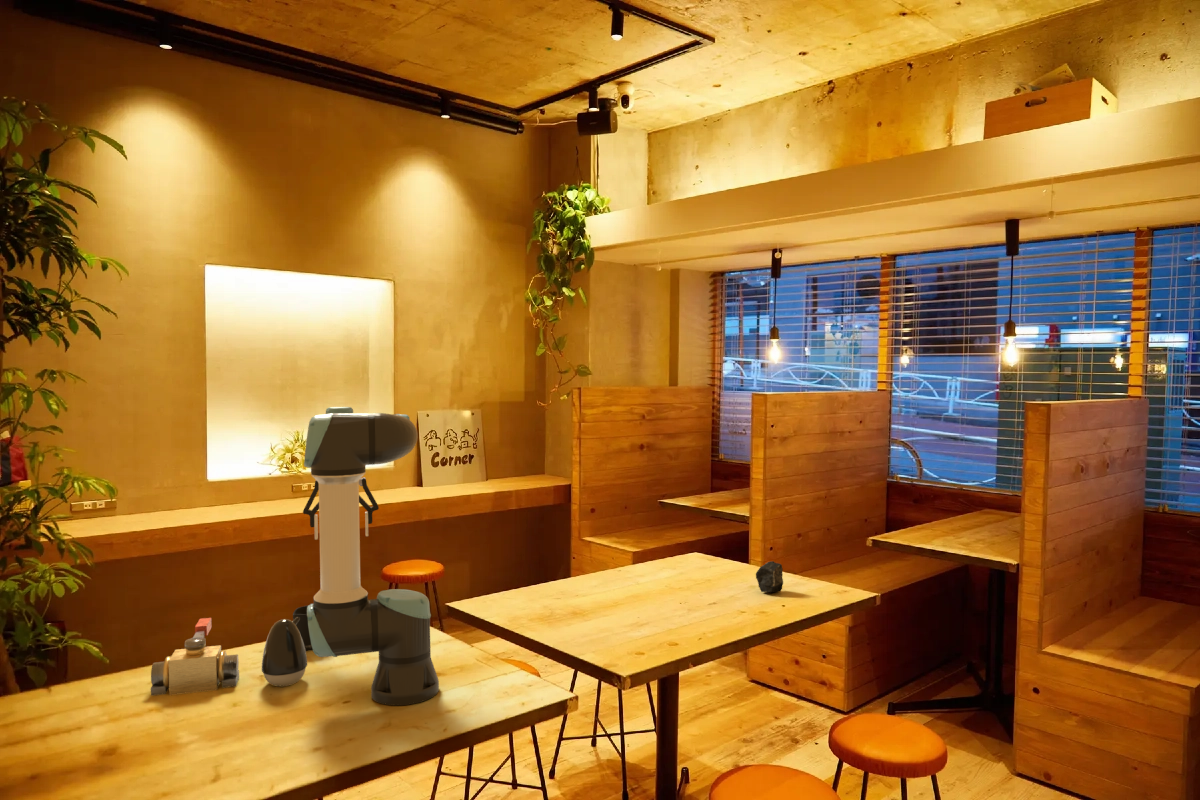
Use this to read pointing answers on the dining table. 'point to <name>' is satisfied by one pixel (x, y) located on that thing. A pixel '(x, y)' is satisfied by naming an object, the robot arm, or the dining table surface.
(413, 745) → the dining table surface
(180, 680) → the valve
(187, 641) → the lever
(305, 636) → the pen holder
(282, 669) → the black egg-shaped shaker
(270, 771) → the dining table surface
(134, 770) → the dining table surface
